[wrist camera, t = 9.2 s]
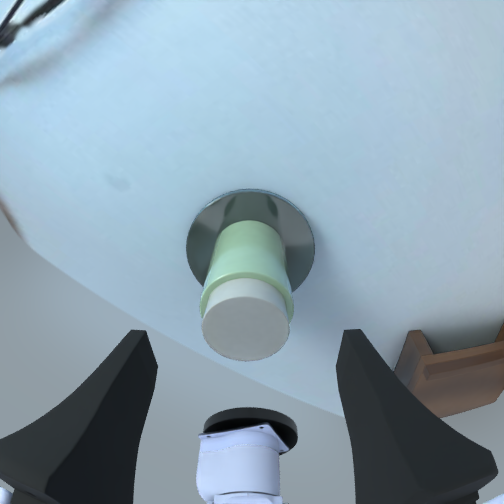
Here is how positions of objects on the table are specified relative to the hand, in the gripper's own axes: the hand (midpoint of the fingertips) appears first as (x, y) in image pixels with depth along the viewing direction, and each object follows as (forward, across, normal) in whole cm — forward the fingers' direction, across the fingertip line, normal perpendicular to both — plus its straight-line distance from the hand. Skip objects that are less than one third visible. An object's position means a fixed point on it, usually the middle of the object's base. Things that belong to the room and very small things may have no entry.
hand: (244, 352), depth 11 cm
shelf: (+9, -19, +14) cm, 25 cm away
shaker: (+9, 0, +1) cm, 9 cm away
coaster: (+10, 0, +1) cm, 10 cm away
